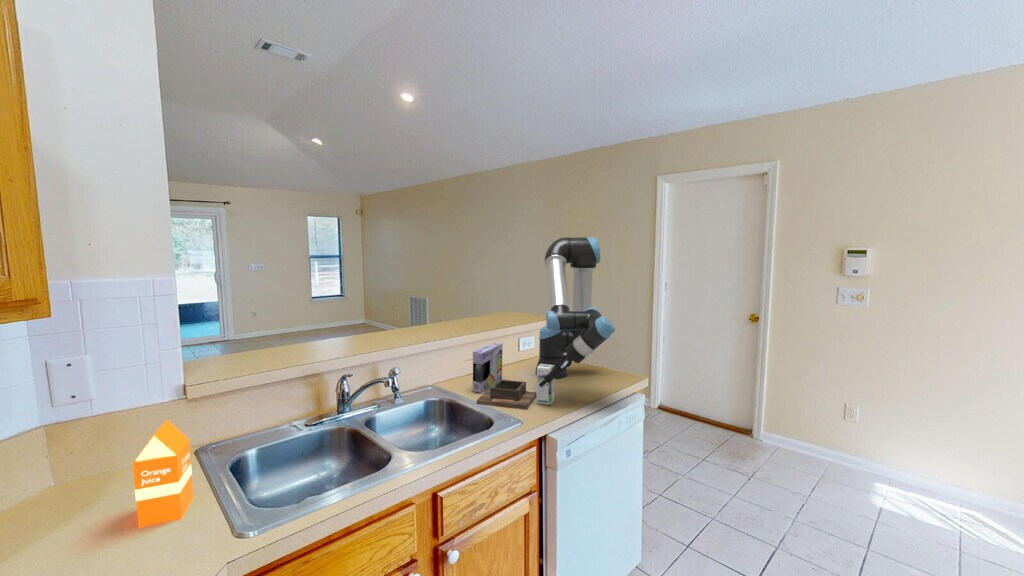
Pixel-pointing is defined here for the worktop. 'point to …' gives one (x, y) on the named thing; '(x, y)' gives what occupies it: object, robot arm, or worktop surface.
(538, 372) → the syrup box
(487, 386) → the cake pan box
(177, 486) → the orange juice
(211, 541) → the worktop surface
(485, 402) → the socket board
